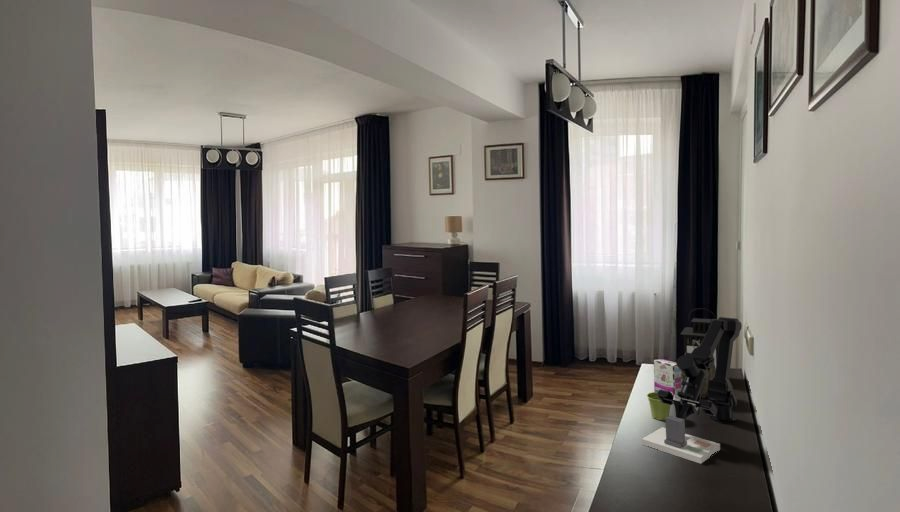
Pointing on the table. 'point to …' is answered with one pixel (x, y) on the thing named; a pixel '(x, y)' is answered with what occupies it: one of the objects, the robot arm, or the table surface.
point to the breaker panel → (692, 450)
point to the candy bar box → (667, 376)
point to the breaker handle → (675, 432)
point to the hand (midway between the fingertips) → (678, 424)
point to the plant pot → (658, 407)
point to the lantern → (697, 335)
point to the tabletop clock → (708, 373)
